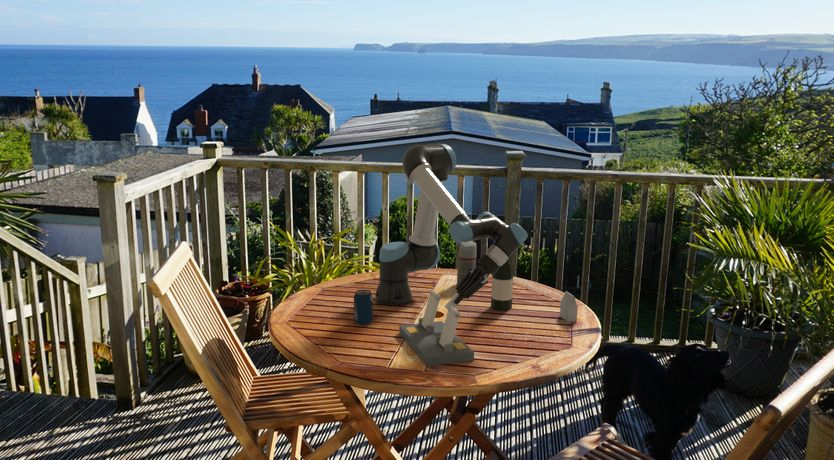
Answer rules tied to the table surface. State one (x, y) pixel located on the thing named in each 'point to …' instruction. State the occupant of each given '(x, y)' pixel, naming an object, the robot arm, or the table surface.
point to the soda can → (363, 307)
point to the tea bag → (568, 308)
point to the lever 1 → (431, 309)
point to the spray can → (466, 259)
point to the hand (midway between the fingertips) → (447, 309)
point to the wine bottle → (502, 287)
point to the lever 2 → (449, 326)
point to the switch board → (435, 344)
